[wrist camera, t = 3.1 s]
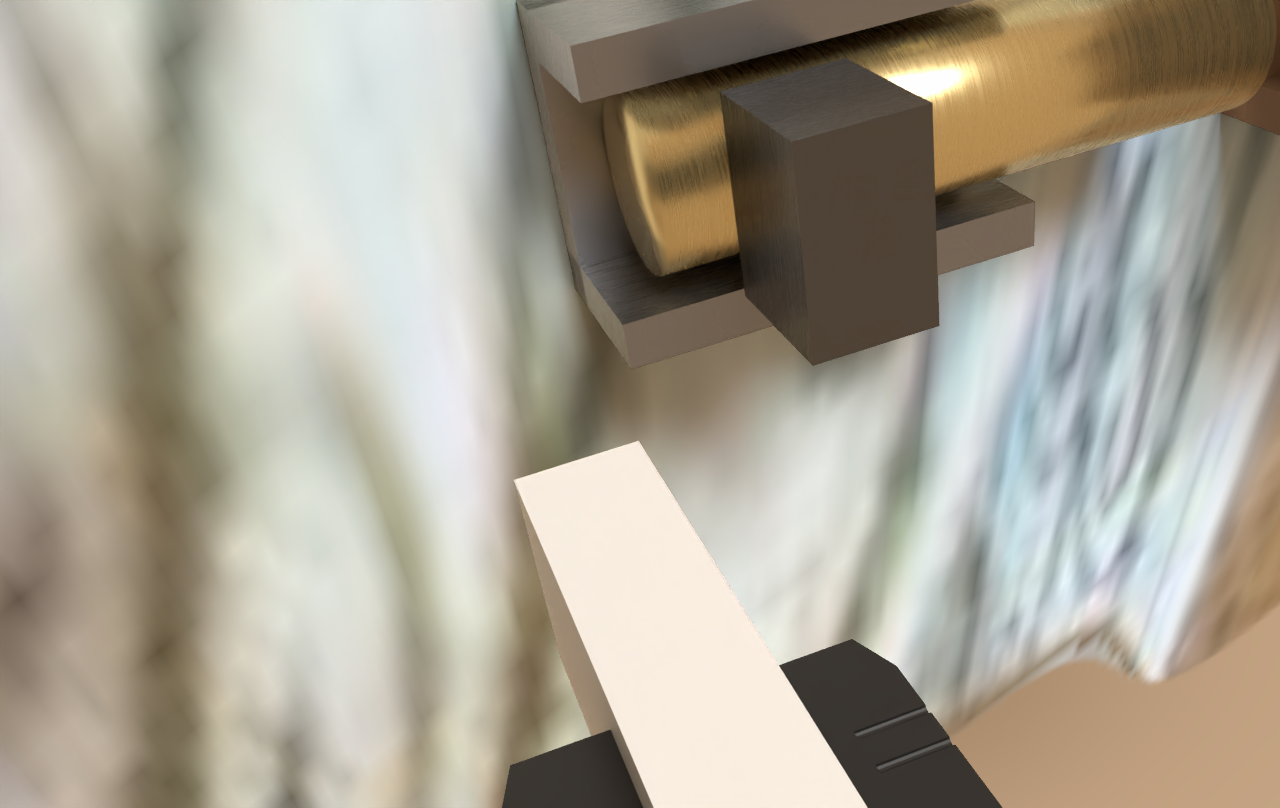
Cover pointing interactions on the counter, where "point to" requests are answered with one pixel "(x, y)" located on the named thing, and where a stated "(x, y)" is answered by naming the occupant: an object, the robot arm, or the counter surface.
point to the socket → (1265, 93)
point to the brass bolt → (903, 142)
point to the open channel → (665, 50)
